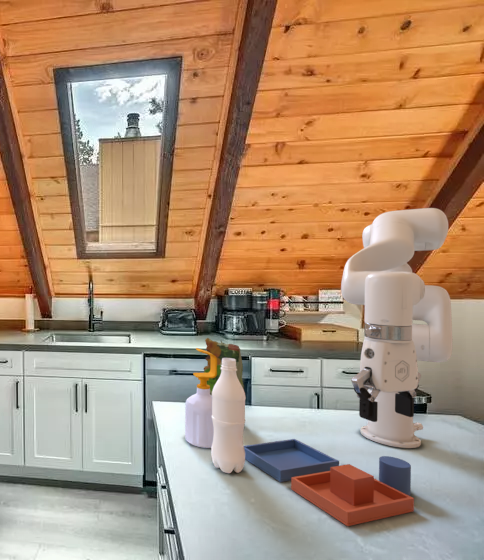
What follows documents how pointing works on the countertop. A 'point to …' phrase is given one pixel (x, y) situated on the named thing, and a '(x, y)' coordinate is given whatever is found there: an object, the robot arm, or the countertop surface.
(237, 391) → the water bottle
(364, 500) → the block
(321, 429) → the countertop surface
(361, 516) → the terracotta tray
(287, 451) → the blue tray
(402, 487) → the blue cylinder
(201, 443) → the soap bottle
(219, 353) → the pouch
